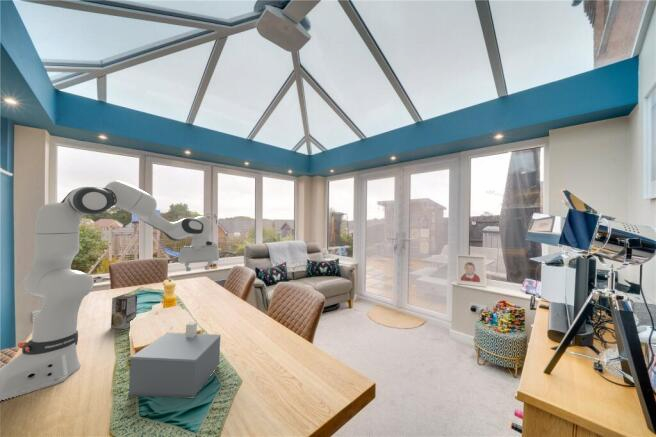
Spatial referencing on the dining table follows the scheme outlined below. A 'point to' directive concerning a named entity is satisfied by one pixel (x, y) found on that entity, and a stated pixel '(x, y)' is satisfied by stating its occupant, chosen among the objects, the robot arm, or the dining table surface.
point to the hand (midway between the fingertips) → (197, 270)
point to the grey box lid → (178, 346)
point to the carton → (172, 375)
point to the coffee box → (123, 311)
